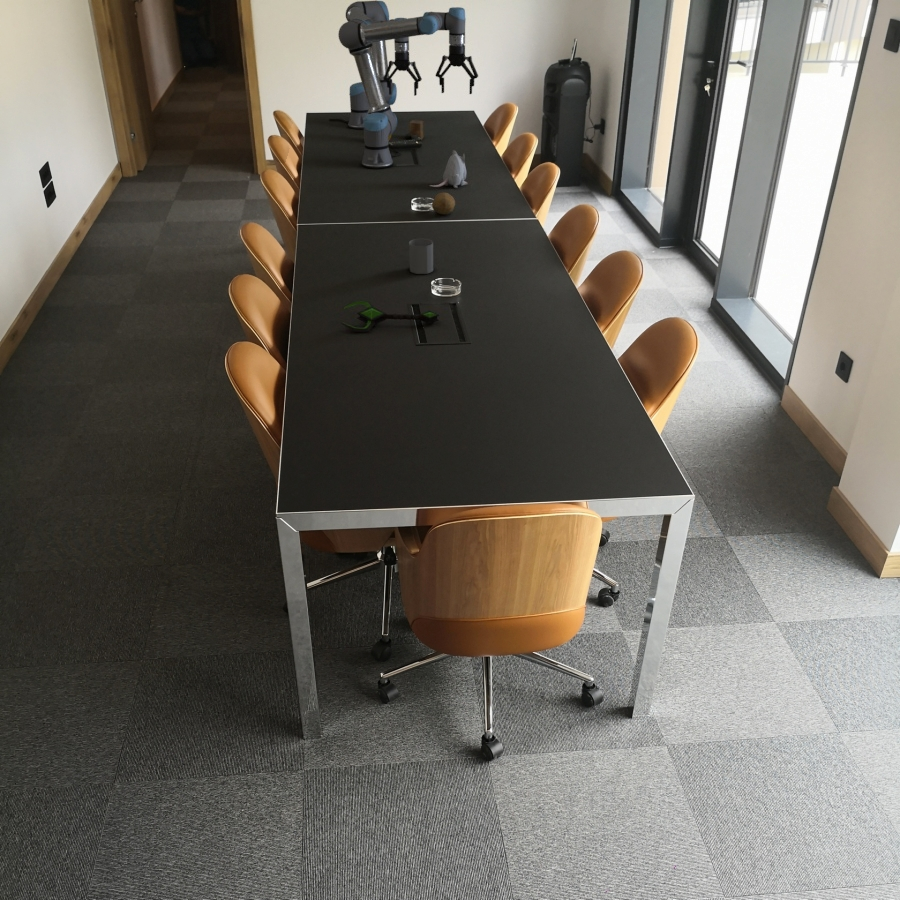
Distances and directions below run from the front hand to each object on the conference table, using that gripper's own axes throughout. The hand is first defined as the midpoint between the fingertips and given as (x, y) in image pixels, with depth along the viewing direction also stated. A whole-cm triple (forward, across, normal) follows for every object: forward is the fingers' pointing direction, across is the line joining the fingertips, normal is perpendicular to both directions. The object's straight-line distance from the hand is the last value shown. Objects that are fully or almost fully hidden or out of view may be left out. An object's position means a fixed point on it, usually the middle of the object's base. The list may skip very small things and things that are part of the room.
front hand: (456, 93), depth 415 cm
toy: (+32, +5, -46) cm, 57 cm away
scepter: (+32, +16, -195) cm, 198 cm away
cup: (+32, +16, -148) cm, 152 cm away
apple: (+32, -46, +32) cm, 65 cm away
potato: (+32, +10, -83) cm, 90 cm away
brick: (+32, -31, +44) cm, 63 cm away
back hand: (+10, -37, +42) cm, 57 cm away
